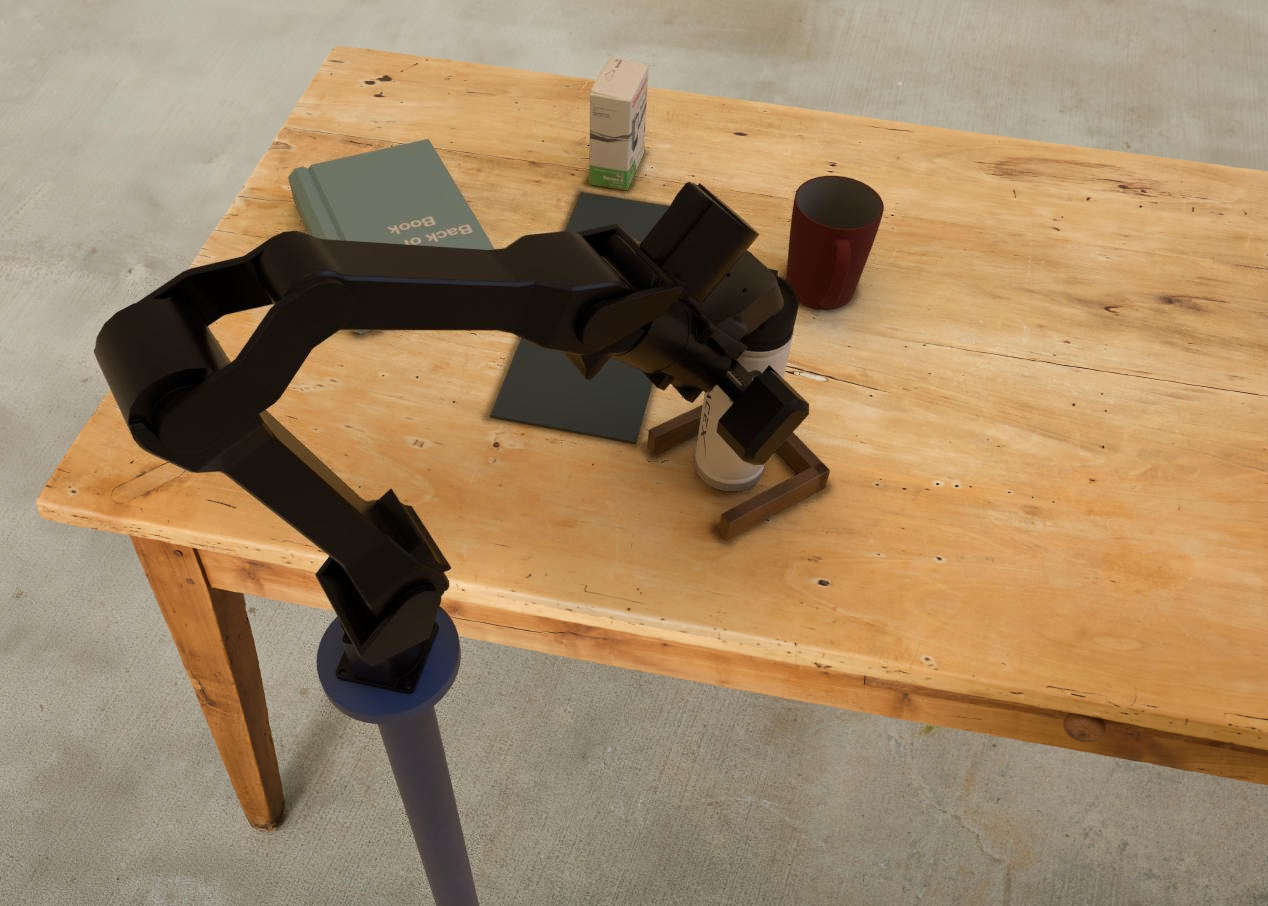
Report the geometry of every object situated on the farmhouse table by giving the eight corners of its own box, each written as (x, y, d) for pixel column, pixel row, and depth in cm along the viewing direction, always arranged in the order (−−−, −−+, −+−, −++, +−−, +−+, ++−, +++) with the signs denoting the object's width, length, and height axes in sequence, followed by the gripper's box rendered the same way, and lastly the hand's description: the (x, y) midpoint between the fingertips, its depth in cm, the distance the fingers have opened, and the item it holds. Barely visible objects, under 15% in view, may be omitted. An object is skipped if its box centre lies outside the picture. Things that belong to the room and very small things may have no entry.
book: (502, 295, 110) (499, 257, 107) (351, 336, 106) (342, 298, 102) (433, 176, 123) (428, 138, 120) (295, 208, 118) (286, 170, 115)
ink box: (627, 192, 123) (631, 101, 114) (586, 185, 123) (587, 93, 114) (645, 151, 128) (650, 61, 119) (606, 144, 129) (608, 54, 120)
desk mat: (635, 444, 98) (635, 441, 98) (490, 417, 99) (490, 415, 99) (699, 212, 121) (699, 210, 121) (580, 193, 122) (580, 191, 122)
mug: (868, 337, 108) (893, 252, 100) (783, 333, 108) (800, 248, 100) (856, 262, 116) (878, 177, 108) (776, 258, 116) (791, 173, 108)
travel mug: (769, 447, 97) (807, 274, 82) (755, 500, 93) (793, 327, 78) (703, 432, 98) (729, 258, 83) (687, 483, 94) (711, 309, 79)
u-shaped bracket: (726, 540, 91) (729, 523, 89) (646, 447, 98) (648, 429, 96) (825, 487, 95) (830, 470, 94) (743, 401, 102) (746, 383, 100)
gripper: (812, 324, 69) (896, 381, 82) (654, 177, 79) (750, 248, 92) (703, 449, 72) (800, 485, 85) (563, 293, 82) (669, 346, 95)
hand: (755, 385), depth 89 cm, fingers closed on travel mug, 6 cm apart
